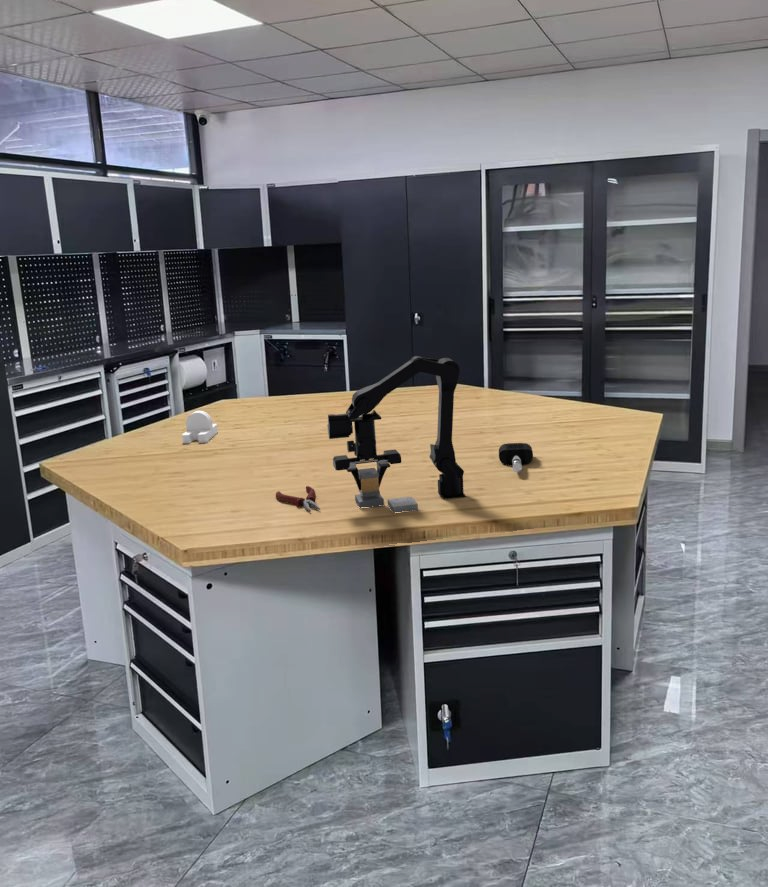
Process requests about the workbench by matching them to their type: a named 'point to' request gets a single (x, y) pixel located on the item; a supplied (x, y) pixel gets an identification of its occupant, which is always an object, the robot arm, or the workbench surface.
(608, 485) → the workbench surface
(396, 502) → the stand
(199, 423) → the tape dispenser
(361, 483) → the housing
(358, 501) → the stand
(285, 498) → the pliers
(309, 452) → the workbench surface
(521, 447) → the audio adapter
